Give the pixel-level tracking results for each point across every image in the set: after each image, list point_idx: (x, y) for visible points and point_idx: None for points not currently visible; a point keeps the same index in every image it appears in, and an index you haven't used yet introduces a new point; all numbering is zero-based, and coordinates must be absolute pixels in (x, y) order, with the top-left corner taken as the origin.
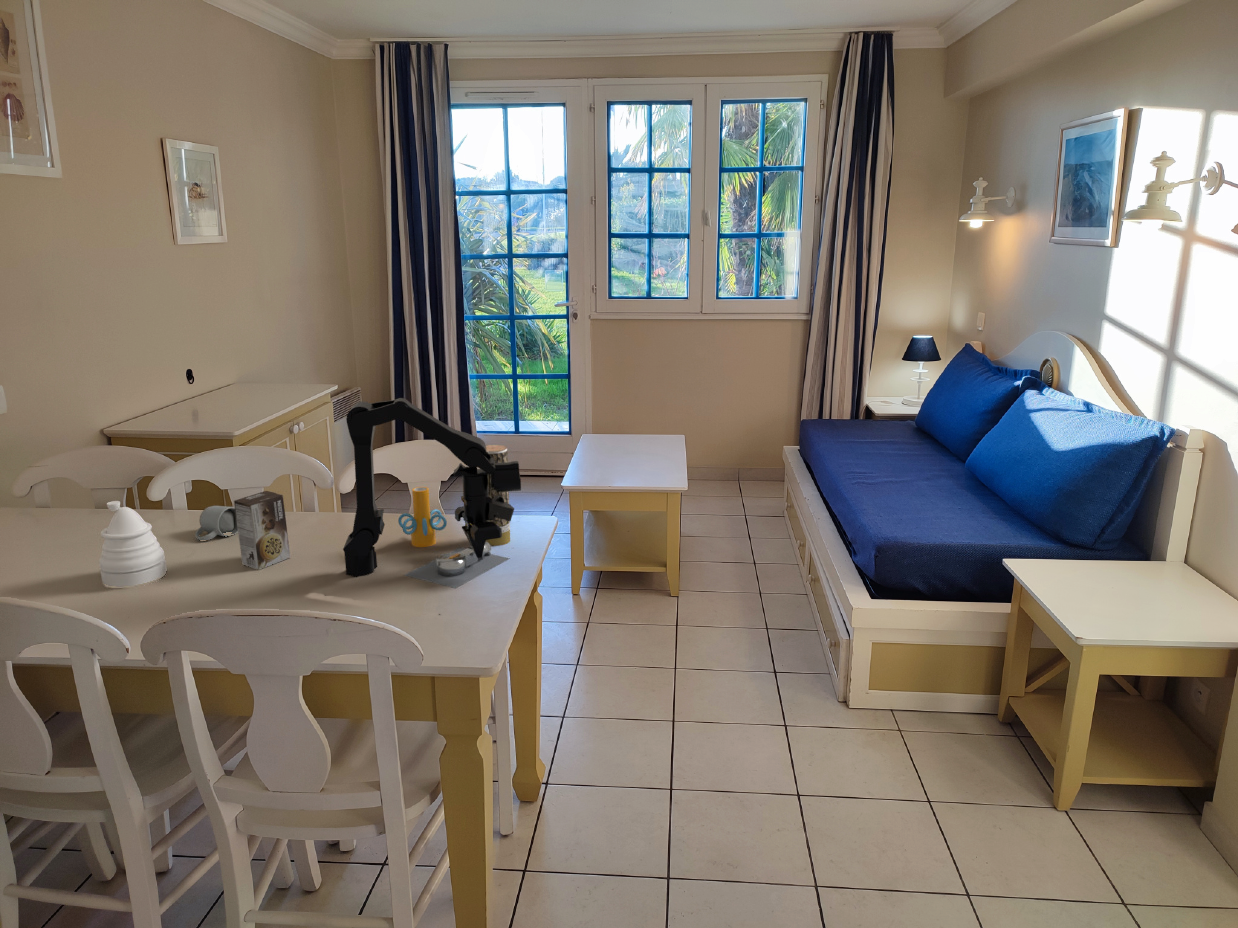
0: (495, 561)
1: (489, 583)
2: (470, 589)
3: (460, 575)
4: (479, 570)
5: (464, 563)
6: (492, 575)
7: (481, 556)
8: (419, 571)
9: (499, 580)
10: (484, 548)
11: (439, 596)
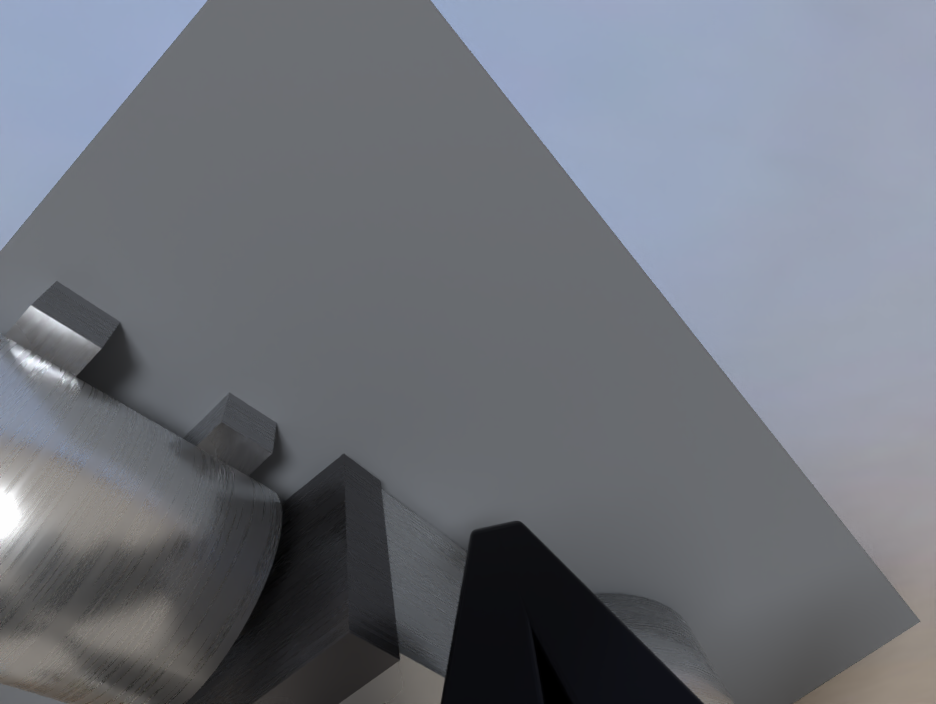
0: (423, 233)
1: (914, 346)
2: (912, 501)
3: (696, 614)
4: (669, 463)
5: (691, 687)
6: (738, 295)
7: (529, 530)
8: None
9: (920, 230)
10: (129, 504)
11: (871, 663)
